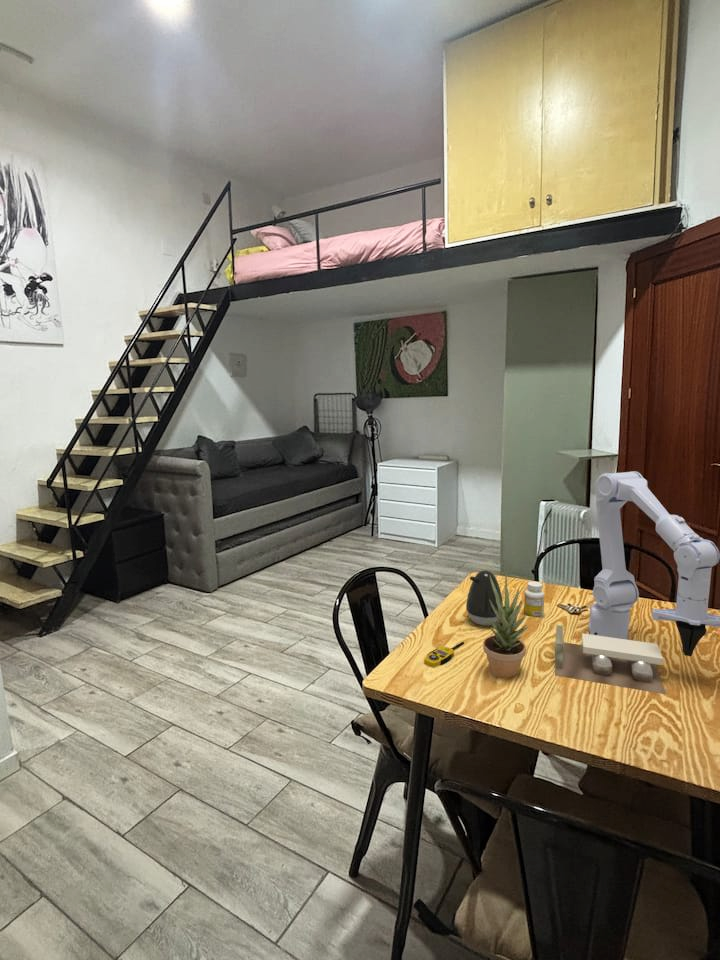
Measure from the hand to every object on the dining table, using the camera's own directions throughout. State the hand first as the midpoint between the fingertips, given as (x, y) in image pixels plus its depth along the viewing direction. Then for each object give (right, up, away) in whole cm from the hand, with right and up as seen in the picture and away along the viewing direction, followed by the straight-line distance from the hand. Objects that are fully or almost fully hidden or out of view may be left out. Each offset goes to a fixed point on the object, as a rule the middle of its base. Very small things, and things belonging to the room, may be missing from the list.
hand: (687, 653), depth 113 cm
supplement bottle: (-22, -1, +36) cm, 42 cm away
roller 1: (-16, -5, +7) cm, 18 cm away
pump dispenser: (-37, -2, +32) cm, 49 cm away
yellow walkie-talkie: (-51, -6, +15) cm, 53 cm away
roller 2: (-8, -5, +4) cm, 11 cm away
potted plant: (-39, -7, +6) cm, 40 cm away
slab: (-12, -1, +5) cm, 13 cm away
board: (-15, -6, +7) cm, 17 cm away
